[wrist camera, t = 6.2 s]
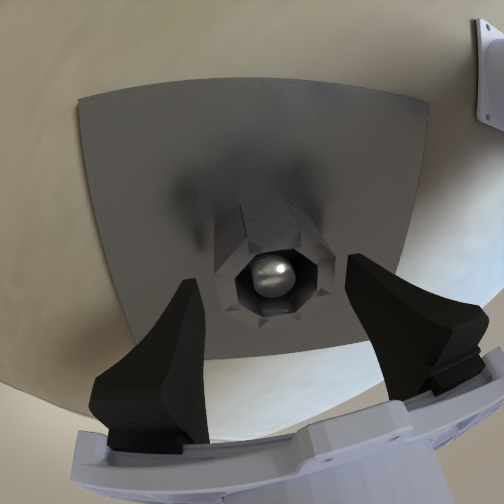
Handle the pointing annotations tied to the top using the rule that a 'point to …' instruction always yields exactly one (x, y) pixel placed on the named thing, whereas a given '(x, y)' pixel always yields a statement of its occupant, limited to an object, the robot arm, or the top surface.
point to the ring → (266, 240)
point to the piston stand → (248, 191)
